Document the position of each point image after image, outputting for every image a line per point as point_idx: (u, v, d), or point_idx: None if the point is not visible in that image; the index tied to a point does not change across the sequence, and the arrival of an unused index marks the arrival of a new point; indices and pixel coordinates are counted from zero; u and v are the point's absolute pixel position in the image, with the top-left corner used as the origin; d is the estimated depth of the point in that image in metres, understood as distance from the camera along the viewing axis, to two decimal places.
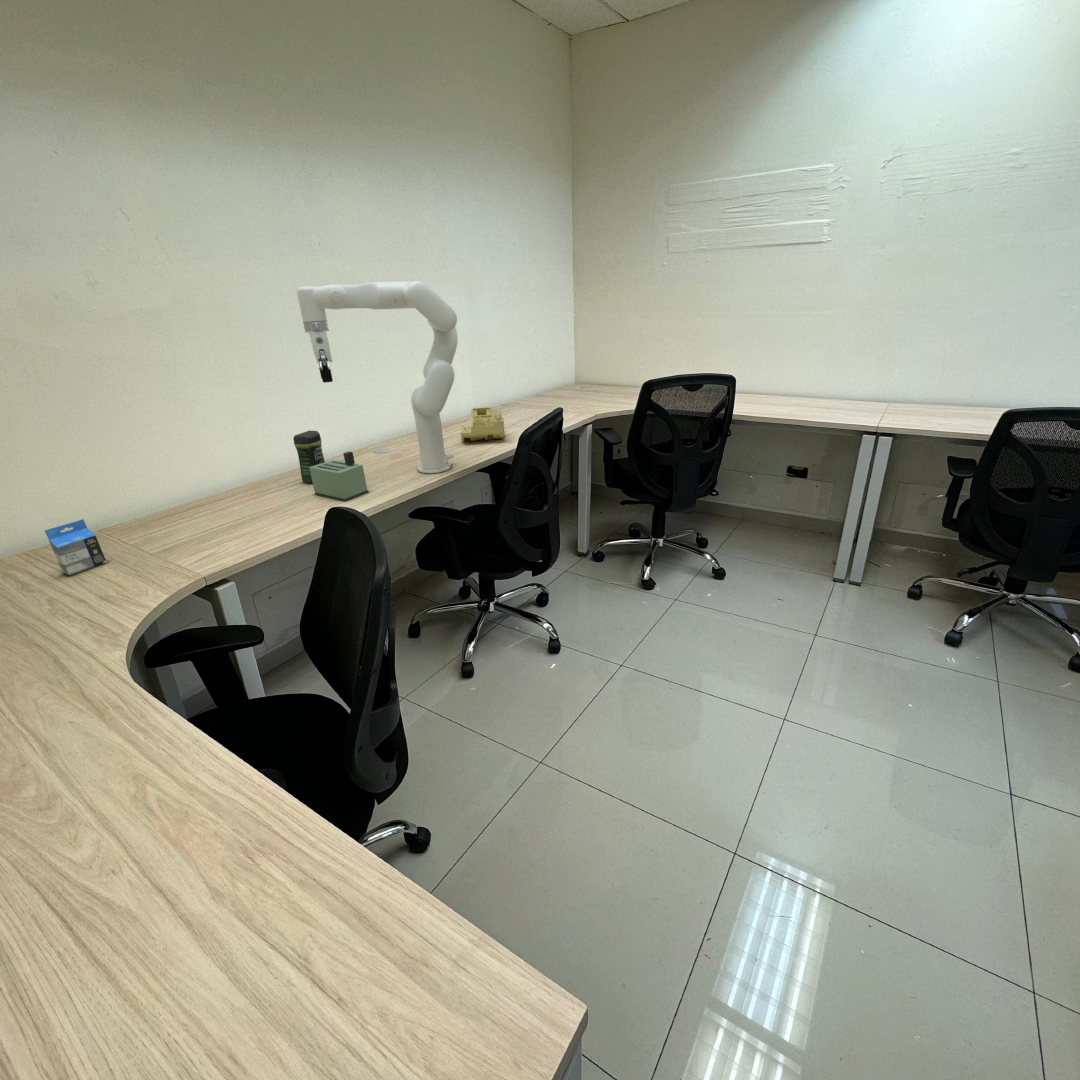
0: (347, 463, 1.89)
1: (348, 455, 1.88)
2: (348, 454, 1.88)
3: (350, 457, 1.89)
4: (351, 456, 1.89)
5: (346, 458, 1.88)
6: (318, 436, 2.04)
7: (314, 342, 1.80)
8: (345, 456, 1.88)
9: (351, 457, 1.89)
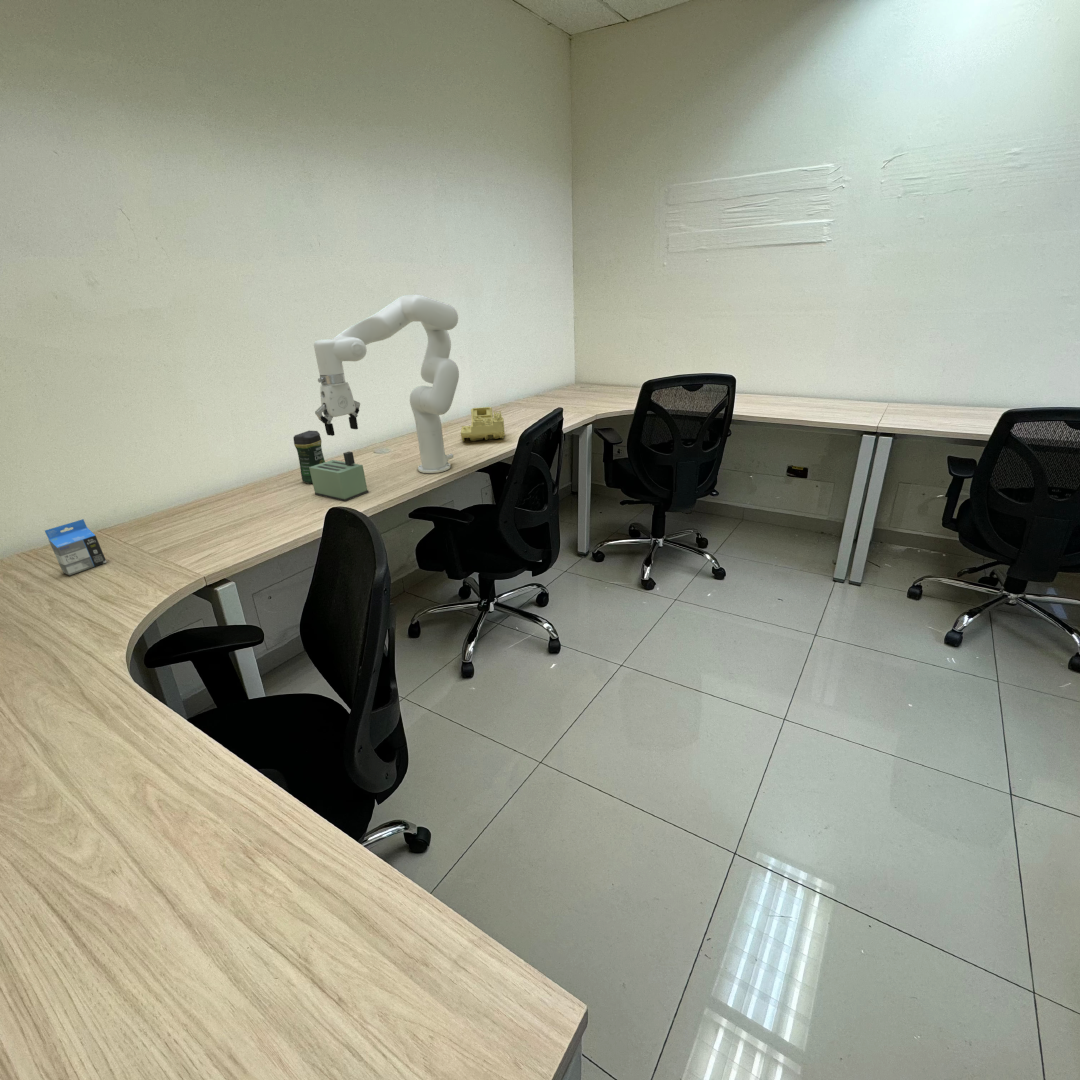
0: (347, 463, 1.89)
1: (348, 455, 1.88)
2: (348, 454, 1.88)
3: (350, 457, 1.89)
4: (351, 456, 1.89)
5: (346, 458, 1.88)
6: (318, 436, 2.04)
7: (320, 395, 1.78)
8: (345, 456, 1.88)
9: (351, 457, 1.89)
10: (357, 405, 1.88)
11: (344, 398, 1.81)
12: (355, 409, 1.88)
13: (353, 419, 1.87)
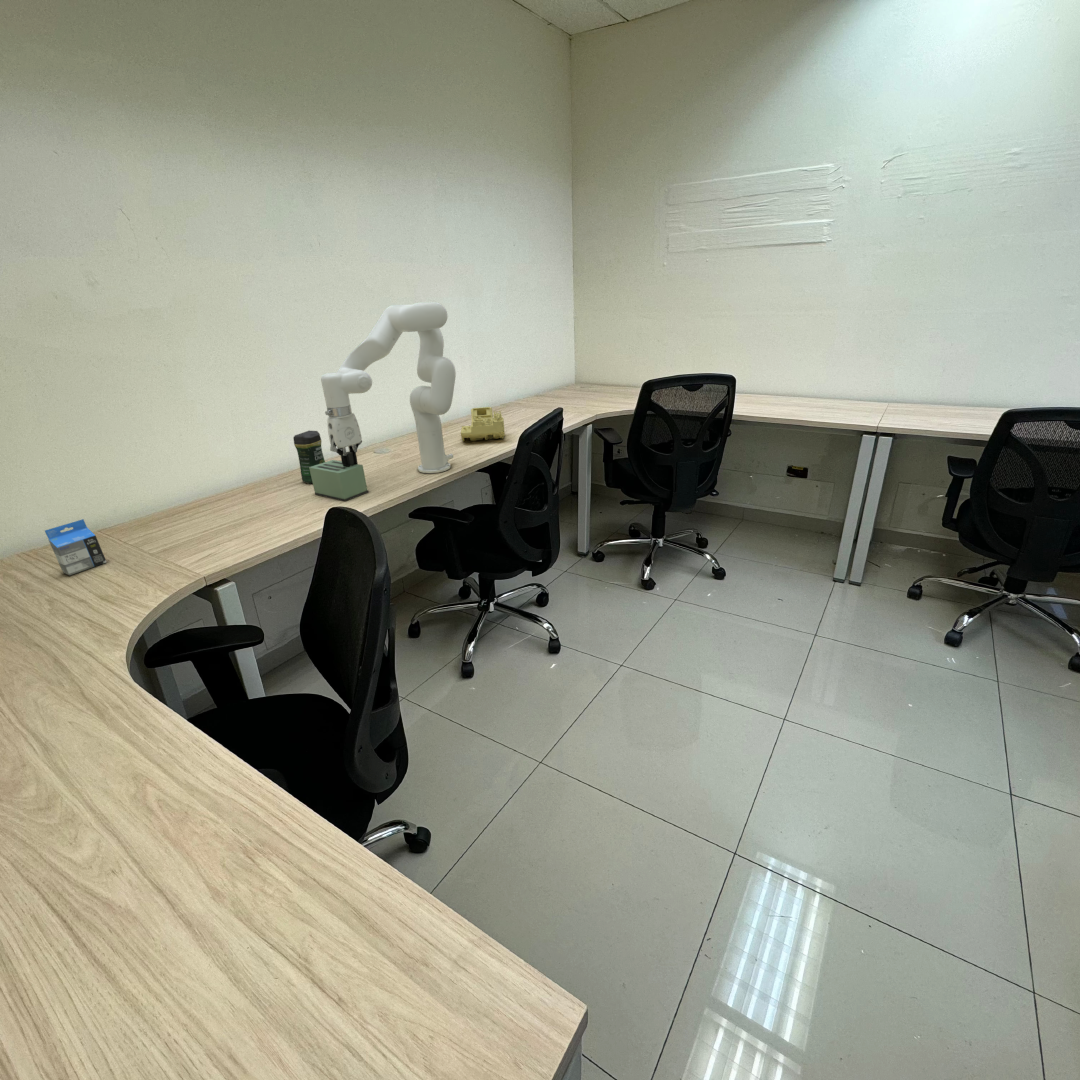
0: None
1: (348, 455, 1.88)
2: (348, 454, 1.88)
3: (350, 457, 1.89)
4: (351, 456, 1.89)
5: None
6: (318, 436, 2.04)
7: None
8: None
9: (351, 457, 1.89)
10: None
11: (351, 429, 1.85)
12: None
13: (353, 454, 1.90)
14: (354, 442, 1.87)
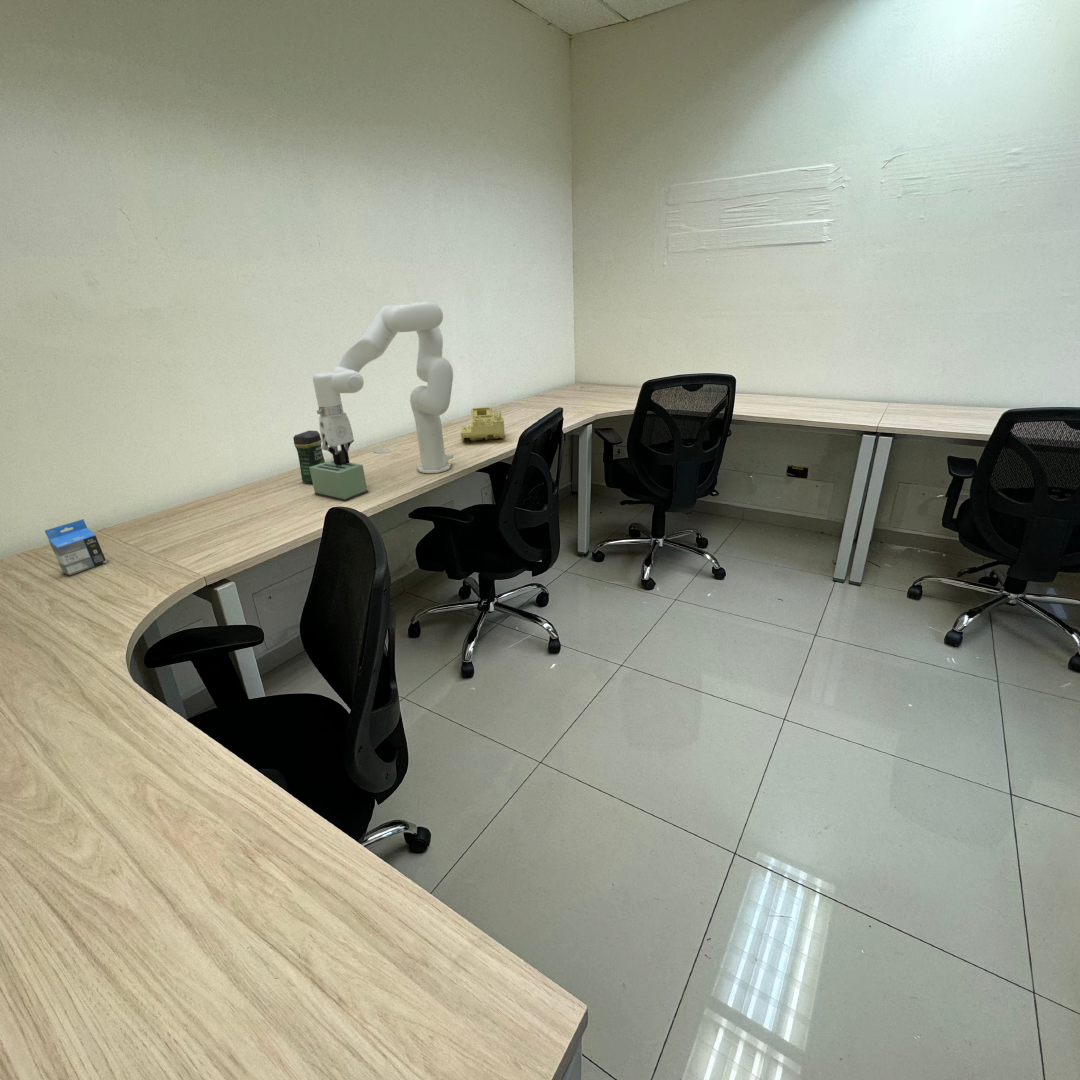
0: None
1: (340, 454, 1.90)
2: (340, 453, 1.90)
3: (342, 455, 1.91)
4: (343, 455, 1.91)
5: None
6: (318, 436, 2.04)
7: None
8: None
9: (343, 456, 1.91)
10: (350, 440, 1.93)
11: (342, 428, 1.87)
12: None
13: None
14: (346, 441, 1.89)
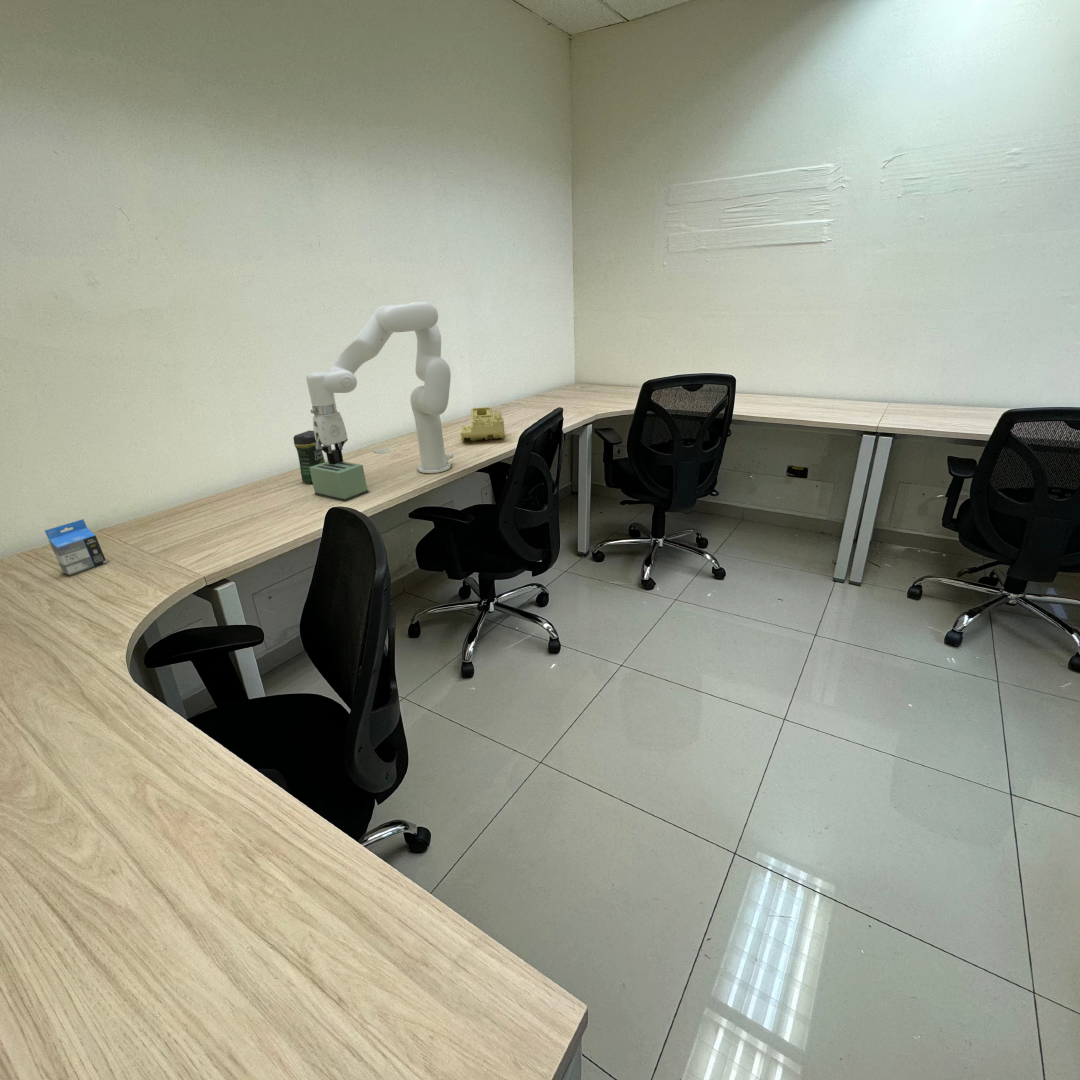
0: None
1: (334, 453, 1.92)
2: (334, 452, 1.92)
3: (336, 454, 1.93)
4: (337, 454, 1.93)
5: None
6: None
7: (313, 425, 1.86)
8: None
9: (337, 455, 1.93)
10: (344, 439, 1.95)
11: (336, 427, 1.89)
12: None
13: None
14: (339, 440, 1.91)
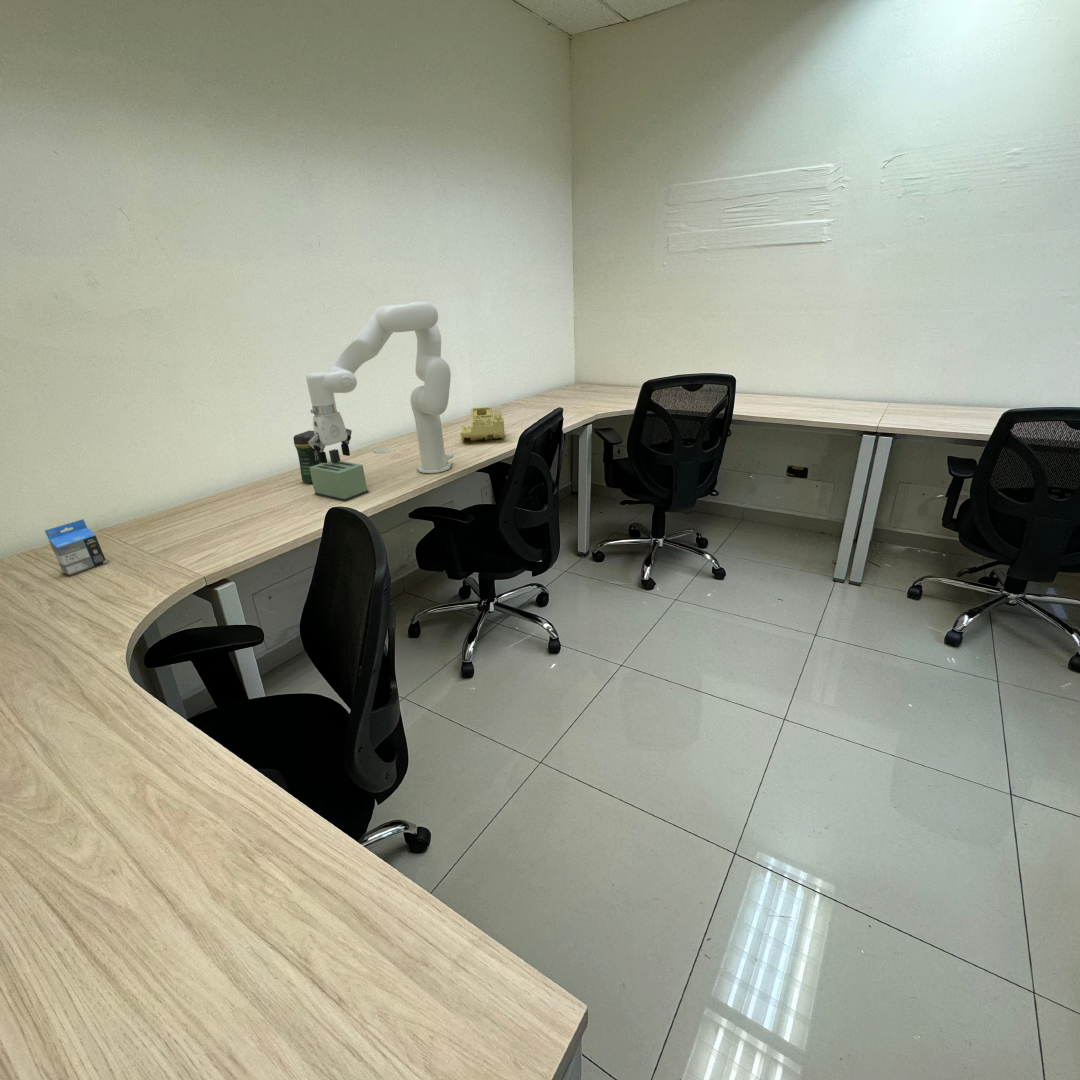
0: (333, 460, 1.93)
1: (334, 453, 1.92)
2: (333, 452, 1.92)
3: (336, 454, 1.93)
4: (337, 454, 1.93)
5: (332, 456, 1.92)
6: None
7: (313, 425, 1.86)
8: (331, 454, 1.92)
9: (337, 455, 1.93)
10: (349, 432, 1.96)
11: (336, 427, 1.89)
12: (347, 436, 1.96)
13: (345, 446, 1.95)
14: (339, 440, 1.91)
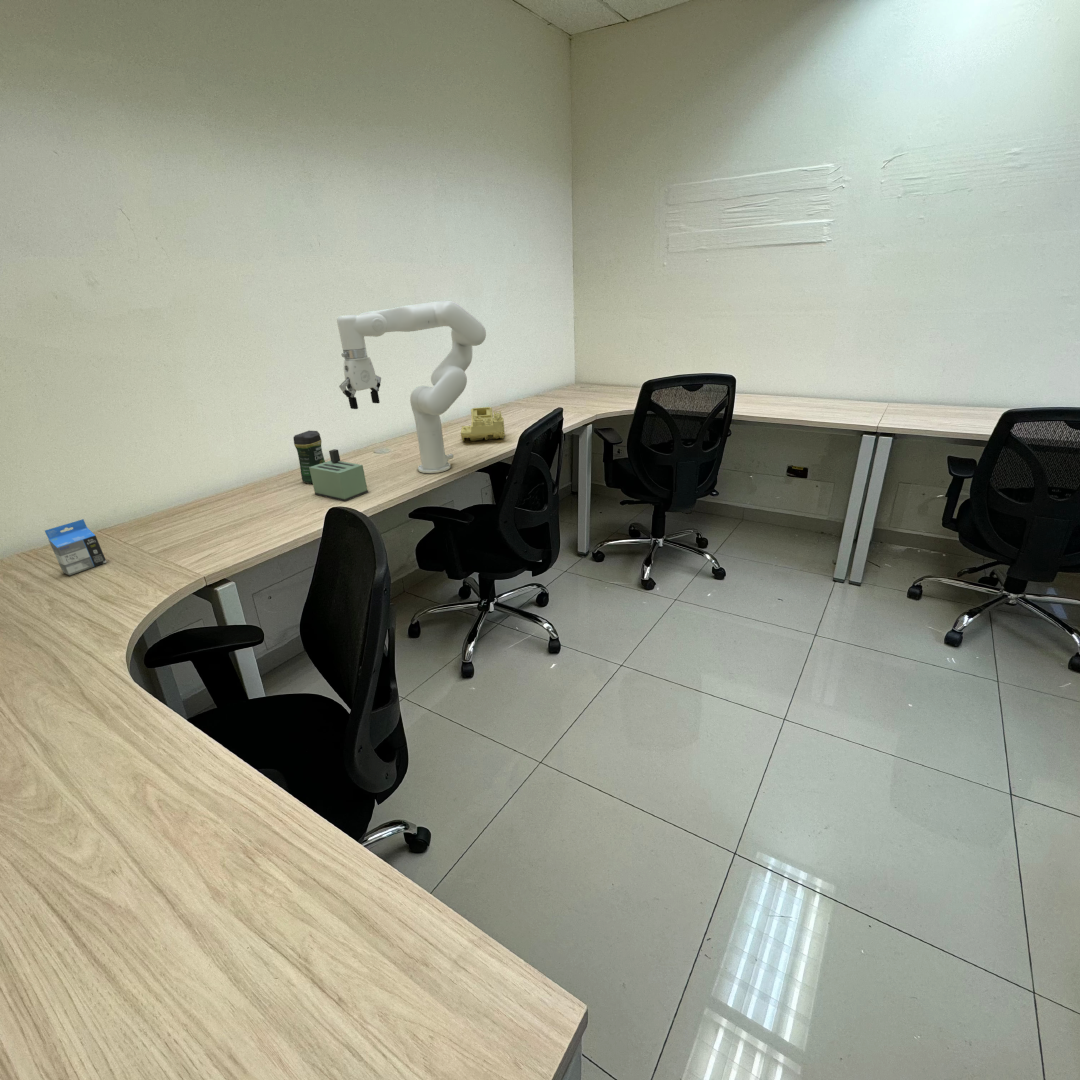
0: (333, 460, 1.93)
1: (334, 453, 1.92)
2: (333, 452, 1.92)
3: (336, 454, 1.93)
4: (337, 454, 1.93)
5: (332, 456, 1.92)
6: (318, 436, 2.04)
7: (344, 370, 1.85)
8: (331, 454, 1.92)
9: (337, 455, 1.93)
10: (378, 380, 1.95)
11: (366, 372, 1.87)
12: (376, 383, 1.95)
13: (375, 393, 1.94)
14: (370, 386, 1.89)
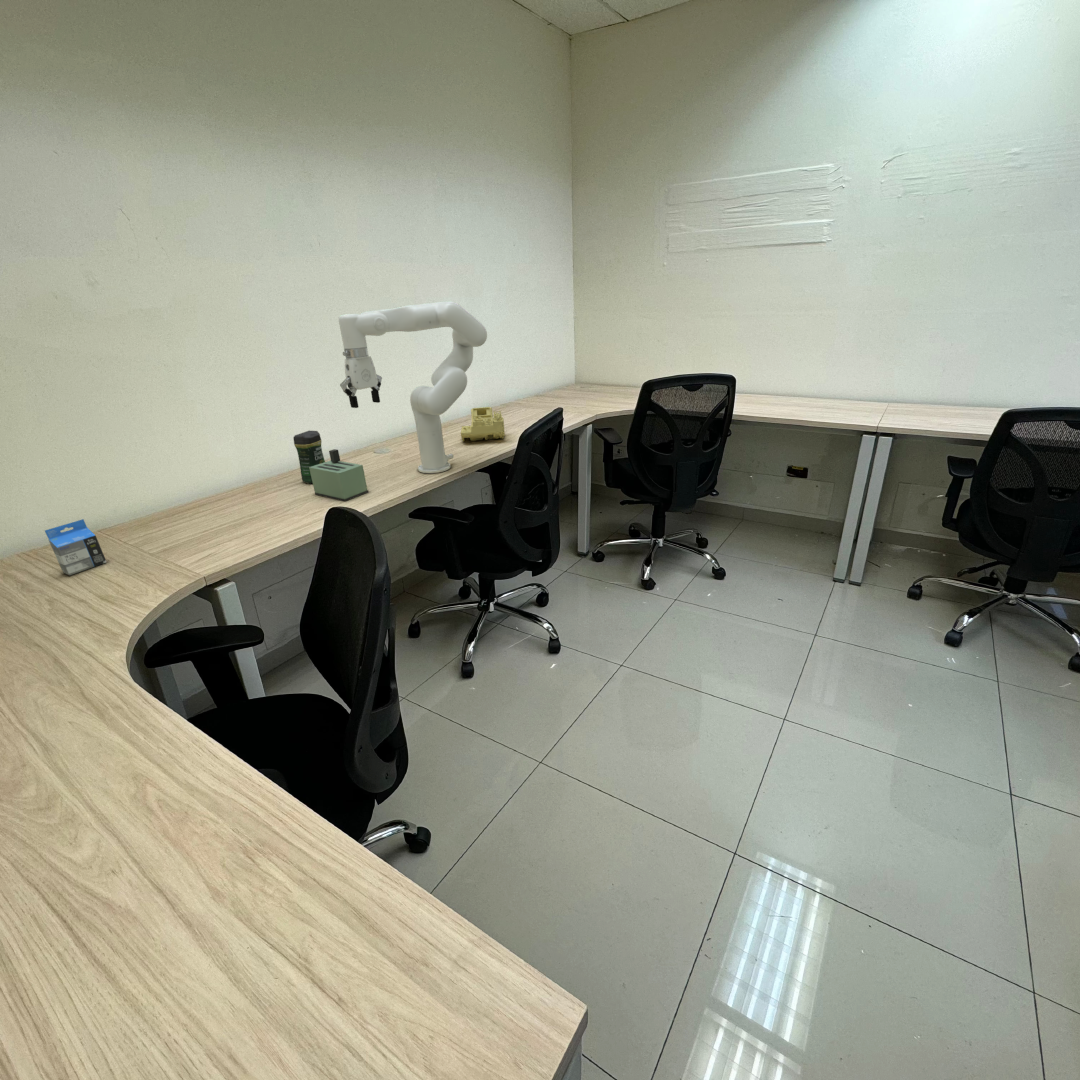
0: (333, 460, 1.93)
1: (334, 453, 1.92)
2: (333, 452, 1.92)
3: (336, 454, 1.93)
4: (337, 454, 1.93)
5: (332, 456, 1.92)
6: (318, 436, 2.04)
7: (345, 368, 1.85)
8: (331, 454, 1.92)
9: (337, 455, 1.93)
10: (379, 379, 1.95)
11: (367, 371, 1.87)
12: (377, 383, 1.95)
13: (375, 392, 1.94)
14: (370, 385, 1.89)
